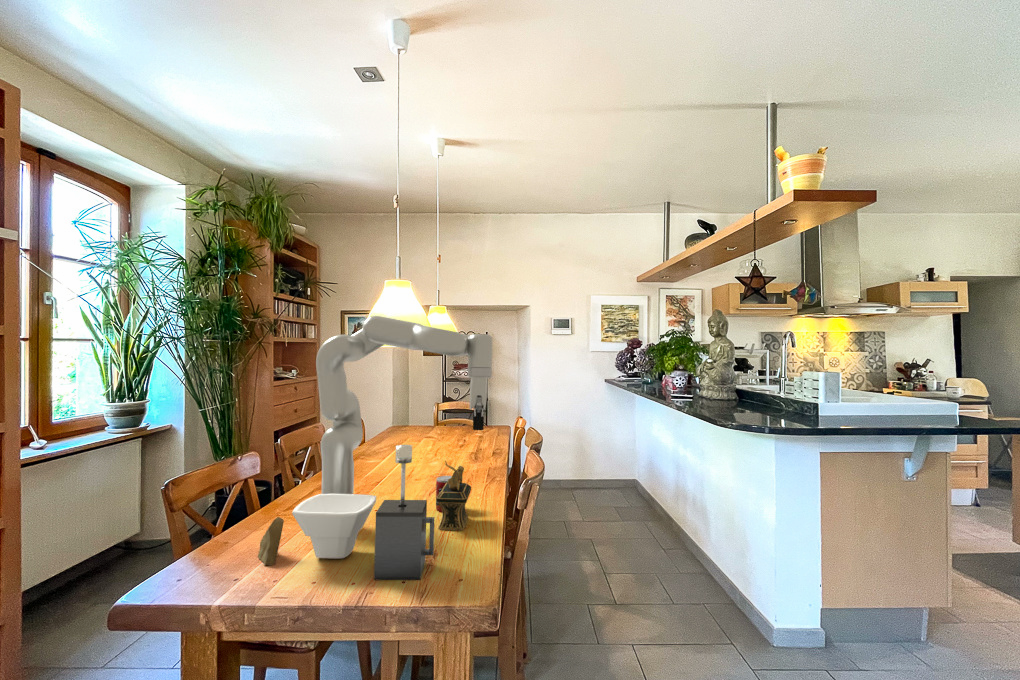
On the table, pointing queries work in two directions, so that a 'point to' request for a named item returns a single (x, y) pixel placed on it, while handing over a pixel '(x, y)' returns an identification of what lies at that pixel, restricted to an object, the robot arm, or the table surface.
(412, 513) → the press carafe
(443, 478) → the canned food
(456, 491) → the decorative box
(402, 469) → the plunger
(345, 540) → the bowl
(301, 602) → the table surface
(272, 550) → the rock
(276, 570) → the table surface
